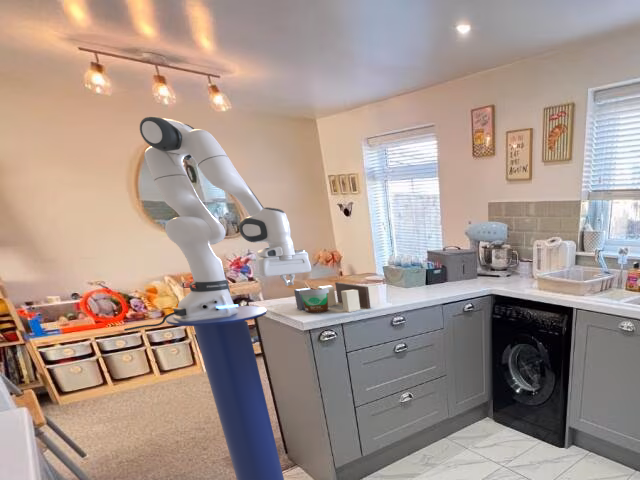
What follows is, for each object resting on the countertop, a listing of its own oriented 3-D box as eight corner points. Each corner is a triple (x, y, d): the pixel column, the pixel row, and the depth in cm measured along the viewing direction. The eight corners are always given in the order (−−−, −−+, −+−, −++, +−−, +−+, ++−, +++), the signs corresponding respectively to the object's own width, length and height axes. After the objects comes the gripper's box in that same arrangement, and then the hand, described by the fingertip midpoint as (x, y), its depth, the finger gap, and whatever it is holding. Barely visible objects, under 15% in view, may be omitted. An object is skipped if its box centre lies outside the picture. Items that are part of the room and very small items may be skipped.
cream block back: (325, 306, 196) (322, 287, 192) (320, 306, 198) (317, 287, 195) (336, 305, 200) (333, 286, 197) (331, 304, 202) (328, 285, 199)
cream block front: (349, 312, 186) (346, 291, 182) (343, 310, 188) (340, 290, 184) (360, 309, 190) (357, 290, 187) (355, 308, 192) (352, 289, 189)
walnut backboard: (367, 308, 193) (365, 287, 189) (338, 302, 206) (335, 282, 202) (370, 308, 194) (368, 286, 190) (340, 302, 207) (337, 282, 203)
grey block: (302, 310, 188) (298, 290, 184) (297, 309, 190) (293, 289, 187) (314, 308, 192) (311, 289, 189) (309, 307, 194) (306, 288, 191)
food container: (304, 314, 180) (300, 291, 176) (302, 311, 185) (298, 289, 181) (333, 311, 186) (330, 289, 182) (331, 308, 191) (328, 287, 187)
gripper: (302, 249, 177) (309, 281, 182) (252, 252, 162) (261, 287, 167) (310, 249, 174) (316, 282, 179) (260, 252, 158) (268, 289, 163)
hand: (289, 285), depth 173 cm, fingers closed
